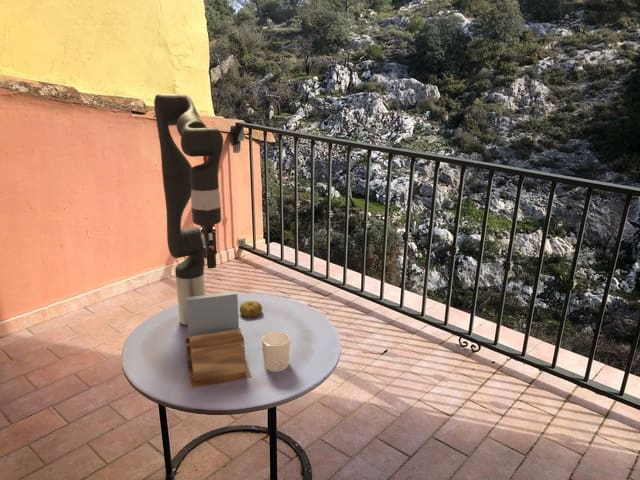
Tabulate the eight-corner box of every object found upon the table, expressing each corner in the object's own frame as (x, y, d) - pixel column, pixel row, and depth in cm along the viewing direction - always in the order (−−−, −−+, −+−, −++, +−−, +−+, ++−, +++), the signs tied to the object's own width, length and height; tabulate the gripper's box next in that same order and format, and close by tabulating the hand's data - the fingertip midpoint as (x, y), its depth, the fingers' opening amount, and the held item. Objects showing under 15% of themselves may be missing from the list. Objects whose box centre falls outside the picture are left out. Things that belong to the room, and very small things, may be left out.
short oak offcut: (193, 374, 132) (191, 349, 130) (243, 366, 137) (242, 341, 134) (194, 380, 129) (192, 354, 127) (245, 371, 134) (244, 346, 131)
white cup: (279, 380, 133) (278, 348, 130) (257, 371, 137) (256, 340, 134) (295, 367, 139) (295, 336, 136) (273, 359, 143) (273, 329, 140)
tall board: (190, 360, 139) (185, 297, 133) (238, 352, 144) (236, 291, 138) (191, 363, 137) (186, 300, 131) (240, 355, 142) (237, 293, 136)
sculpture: (266, 302, 171) (251, 310, 165) (266, 312, 173) (251, 321, 166) (250, 297, 176) (234, 304, 170) (250, 307, 177) (235, 314, 171)
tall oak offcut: (192, 368, 135) (189, 336, 132) (241, 359, 140) (240, 329, 137) (193, 373, 133) (190, 341, 130) (243, 365, 137) (241, 334, 134)
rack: (187, 361, 141) (185, 336, 139) (241, 352, 146) (240, 328, 144) (191, 393, 127) (189, 365, 124) (251, 382, 132) (250, 355, 129)
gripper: (189, 200, 132) (193, 255, 137) (193, 212, 119) (198, 273, 124) (216, 198, 134) (220, 253, 139) (224, 210, 121) (227, 270, 126)
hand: (209, 262), depth 131 cm, fingers open, 8 cm apart
